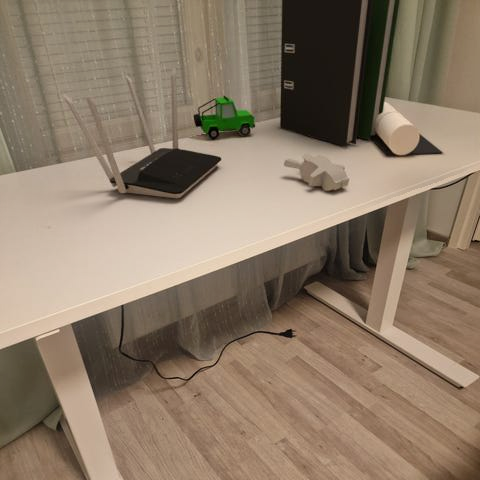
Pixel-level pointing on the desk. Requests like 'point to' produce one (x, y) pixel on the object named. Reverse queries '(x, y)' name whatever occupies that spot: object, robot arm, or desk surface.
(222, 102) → the toy car
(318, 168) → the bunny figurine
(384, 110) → the cylindrical container
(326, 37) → the ring binders
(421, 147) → the mat
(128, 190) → the wireless router
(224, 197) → the desk surface
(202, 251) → the desk surface
